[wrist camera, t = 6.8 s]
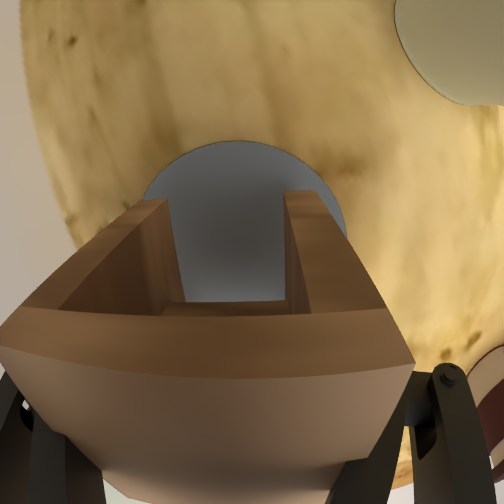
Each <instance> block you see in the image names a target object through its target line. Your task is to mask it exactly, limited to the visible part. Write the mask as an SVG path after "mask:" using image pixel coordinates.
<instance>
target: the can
mask: <svg viewBox="0 0 504 504" xmlns="http://www.w3.org/2000/svg"><path fill="white" fill-rule="evenodd" d="M395 23H396V29H397V32H398V36H399V38H400V41H401V43H402V46H403V48H404V50H405V52H406V54H407V56H408V58H409V59H410V61H411V63H412V64H413V66H414V67H415V69H416V70H417V71H418V72H419V74H420V75H421V76H422V77H423V78H424V80H425V81H426V82H427V83H428V84H429V85H430V86H431V87H433V88H434V89H435V90H436V91H437V92H439V93H440V94H441V95H443V96H444V97H446V98H448V99H449V100H451V101H454V102H456V103H459V104H462V105H467V106H478V105H483V104H487V105H502V106H504V0H396V4H395Z"/></svg>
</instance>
